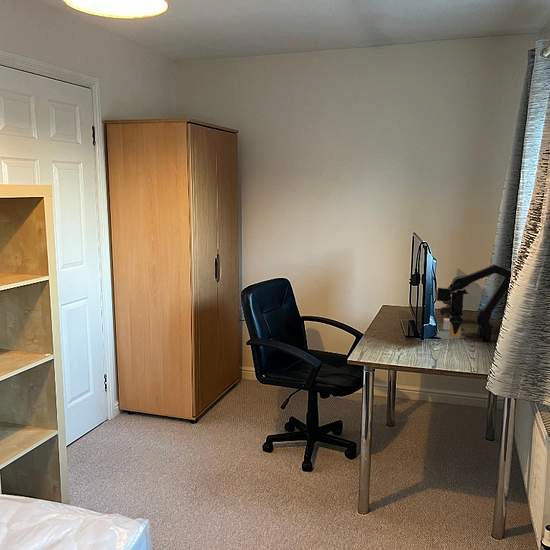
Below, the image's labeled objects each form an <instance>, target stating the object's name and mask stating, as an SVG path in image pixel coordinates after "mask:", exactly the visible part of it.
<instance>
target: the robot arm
mask: <svg viewBox="0 0 550 550" xmlns="http://www.w3.org/2000/svg"><path fill="white" fill-rule="evenodd" d="M511 269H512V268H505V267H502V266H499V265H497V264H495V263H493V264H490V265H489V266H486V267H485V268H482V269H479V270H477V271H475V272H472V273H469V274H467V275H466V274H465V275H459V276H455V277H453V278H452V282H451V283H450V285H449V286H448V287H437V290H436V294H435V298H436V299H435V300H436V302H442V301H448V300H450V299H451V296H452V299H451V304H450V306H446V305H445V306H442V307H439V308H438V310H439V313H440V315H444V314H448V313H450V319H449V321H450V322H451V323H452V325H453V332H454V334H456V333H457V331H458V329H459V327H460V326H461V327H462V323H463V322H464V321H463V320H464V319H463V318H464V317H463V310H464V296H465V295H468V294H469V292H468V291H467V290H466V288H467V287H468V286H469V285H471V284H472V283H474V282H476V281H479V280H481V279H484V278H486V277H488V276H491V275H494V274H497V275H498V276H499V275H500V276H501V279H500V282H499V284H498V286H497V287H496V289H495V291H493V293H492V294H491V296H490V298H489V299H488V301H487V302H486V304H485V305H484V307H483V308H480V307H478V309H477V311H476V312H475V313H474V321H475V323H476V324H477V326H478V327H477V332H476V337H477V338H478V339H482V342H483V343H485V342H493V341H494V339H492V332H493V328H494V326H493V325H492V323H491V322H490V320H491V317H492V313H493V311H494V309H495V308H496V307H497V305H498V304H499V302H500V300H501V299H502V297H503V296H504V295H505V293H506V292H507V290H508V289H509V288H510V287H509V283H510V277H511ZM451 293H452V294H451Z"/></svg>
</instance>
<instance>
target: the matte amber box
mask: <svg viewBox="0 0 550 550" xmlns="http://www.w3.org/2000/svg"><path fill="white" fill-rule="evenodd" d="M448 331H449V337H459V338H458V339H461V338H460V335H461V332H462V325H461V326H460V327H459V329H458V331H457V333H456V334H454V332H453V325H452V323H450V330H448Z"/></svg>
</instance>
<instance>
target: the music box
mask: <svg viewBox="0 0 550 550" xmlns="http://www.w3.org/2000/svg"><path fill="white" fill-rule="evenodd" d="M451 299H452V293H451ZM451 299H450V300H448V301H441V302H442V303H443V305H445V307H446V306H450V304H451ZM444 318H447V319H450V313H448V314H444V315H441V314H440V315H439V322H440V323H442V324H443V323H444Z"/></svg>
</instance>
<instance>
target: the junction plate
mask: <svg viewBox="0 0 550 550" xmlns="http://www.w3.org/2000/svg"><path fill="white" fill-rule="evenodd" d="M437 332H438V334H437V336H435V337H436V338H440V339H442V340H451V339H461V338H466V336H464V335H462V334H460V338H459V337H449V330H441V331H440V330H439V331H437Z"/></svg>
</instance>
